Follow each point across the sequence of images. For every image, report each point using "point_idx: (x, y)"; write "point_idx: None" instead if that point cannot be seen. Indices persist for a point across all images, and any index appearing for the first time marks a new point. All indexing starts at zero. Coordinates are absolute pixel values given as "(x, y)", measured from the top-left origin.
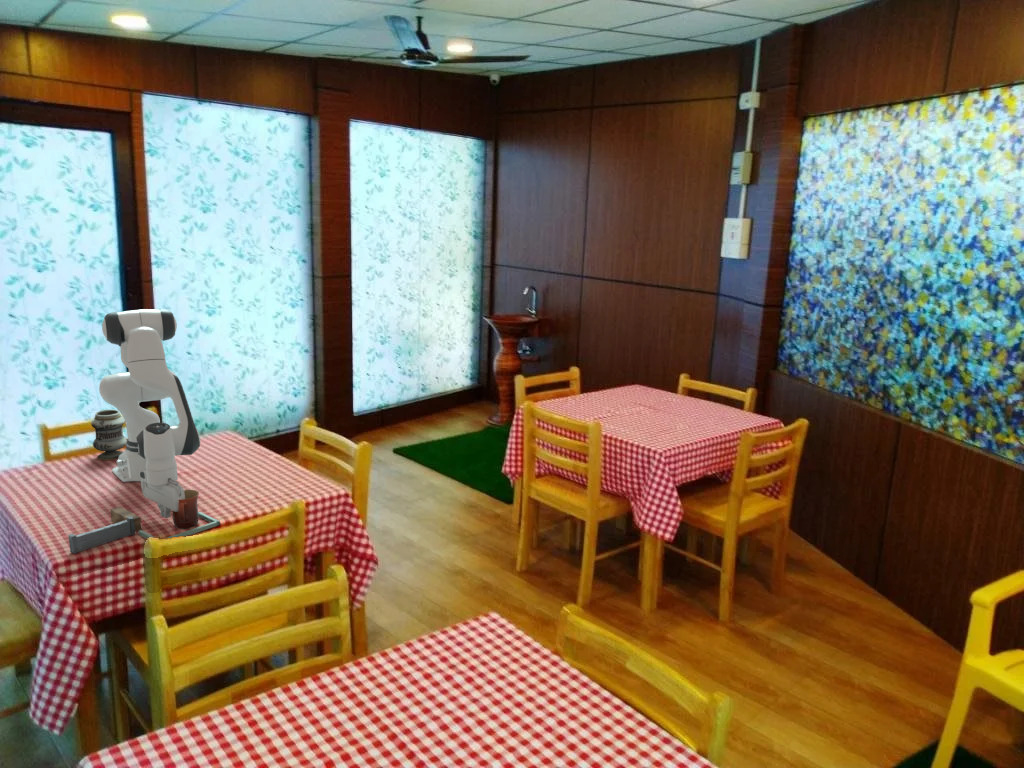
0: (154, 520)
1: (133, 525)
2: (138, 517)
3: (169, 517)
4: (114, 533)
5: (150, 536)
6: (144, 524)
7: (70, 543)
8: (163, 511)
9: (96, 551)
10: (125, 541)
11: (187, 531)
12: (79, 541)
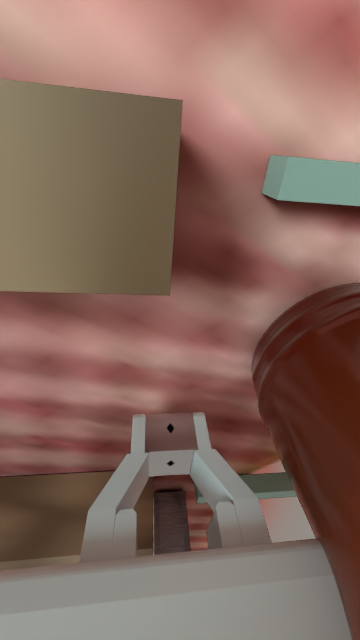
0: (82, 411)
1: (188, 544)
2: (148, 551)
3: (201, 414)
4: None
5: (290, 494)
6: (101, 449)
7: None
8: (158, 469)
9: (200, 545)
10: (208, 510)
11: None
12: None
